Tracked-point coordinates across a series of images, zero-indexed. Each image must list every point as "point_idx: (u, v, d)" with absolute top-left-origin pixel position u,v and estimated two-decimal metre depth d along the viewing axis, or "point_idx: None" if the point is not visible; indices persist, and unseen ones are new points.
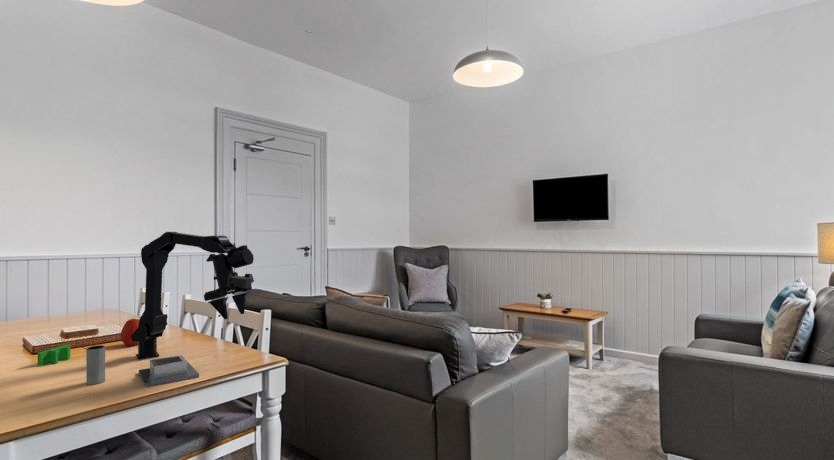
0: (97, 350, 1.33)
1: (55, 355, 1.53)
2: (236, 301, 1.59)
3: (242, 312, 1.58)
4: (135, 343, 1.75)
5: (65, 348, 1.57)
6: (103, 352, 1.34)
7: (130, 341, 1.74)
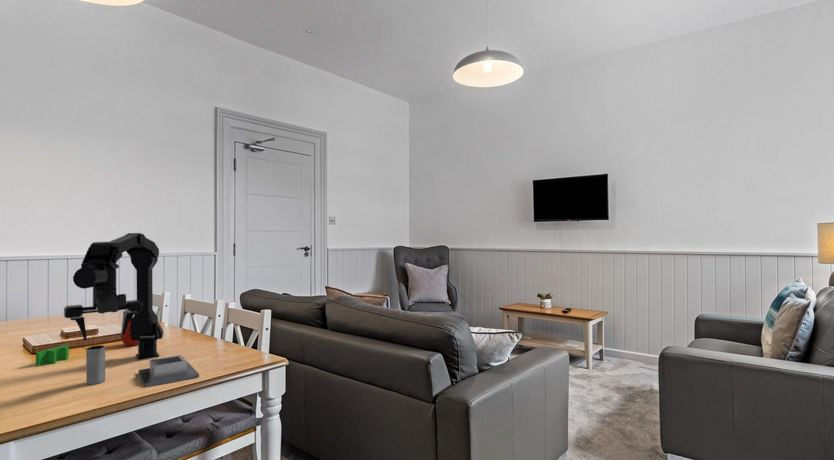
0: (97, 350, 1.33)
1: (53, 355, 1.53)
2: (123, 319, 1.38)
3: (122, 334, 1.37)
4: (135, 343, 1.75)
5: (63, 348, 1.57)
6: (103, 352, 1.34)
7: (130, 341, 1.74)
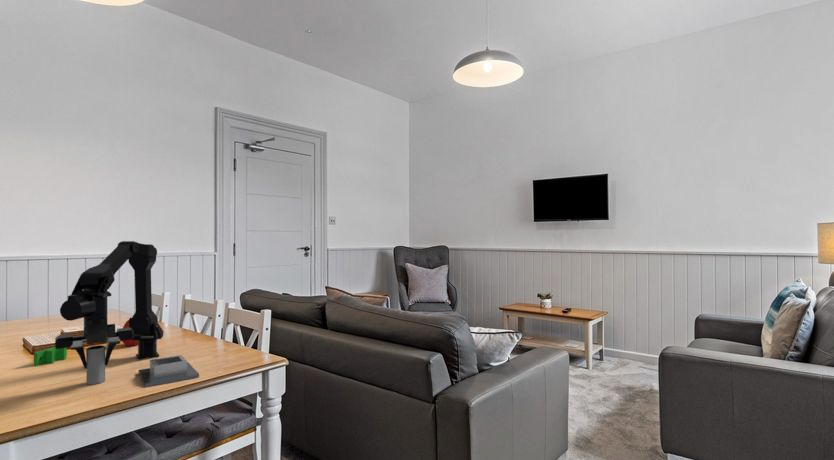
0: (97, 350, 1.33)
1: (51, 355, 1.53)
2: (107, 348, 1.37)
3: (105, 363, 1.35)
4: (135, 343, 1.75)
5: (61, 348, 1.57)
6: (103, 352, 1.34)
7: (130, 341, 1.74)
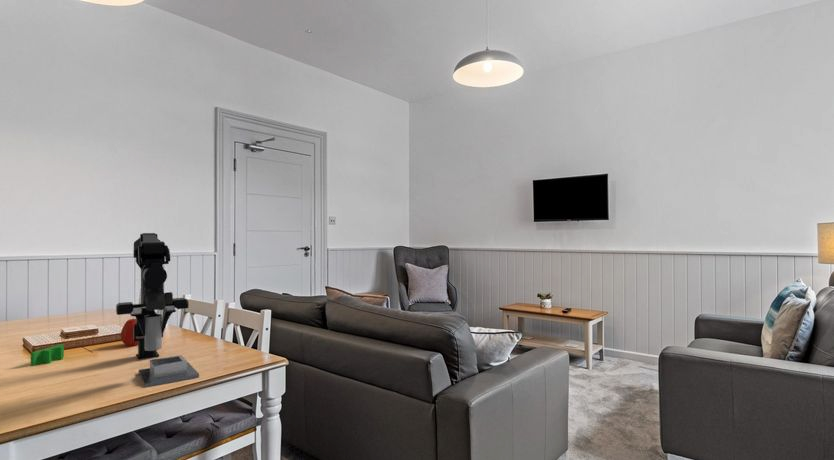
0: (155, 318, 1.37)
1: (48, 355, 1.53)
2: (163, 316, 1.42)
3: None
4: (135, 343, 1.75)
5: (58, 348, 1.57)
6: (160, 320, 1.39)
7: (130, 341, 1.74)
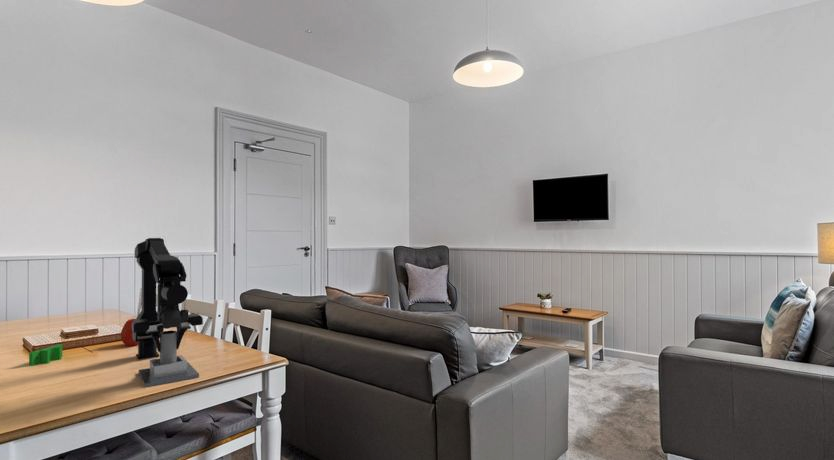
0: (171, 335, 1.39)
1: (46, 355, 1.53)
2: (177, 333, 1.43)
3: None
4: (135, 343, 1.75)
5: (57, 348, 1.58)
6: (175, 337, 1.40)
7: (130, 341, 1.74)
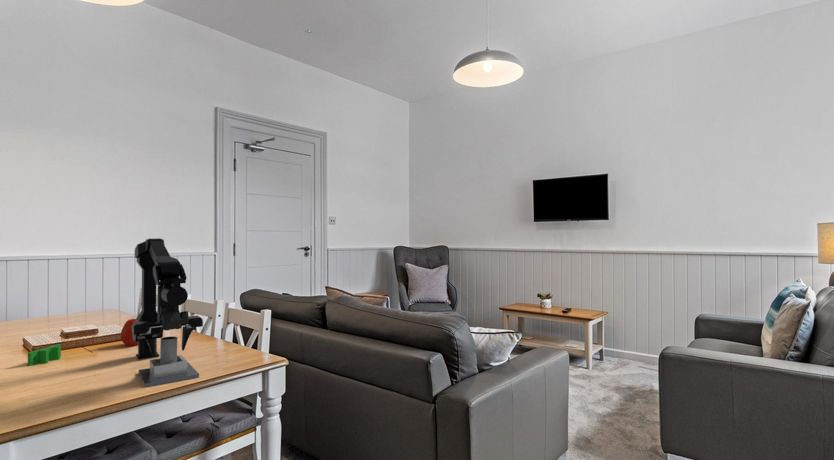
0: (171, 340, 1.39)
1: (45, 355, 1.53)
2: (183, 334, 1.44)
3: (182, 348, 1.43)
4: (135, 343, 1.75)
5: (55, 348, 1.58)
6: (176, 342, 1.41)
7: (130, 341, 1.74)
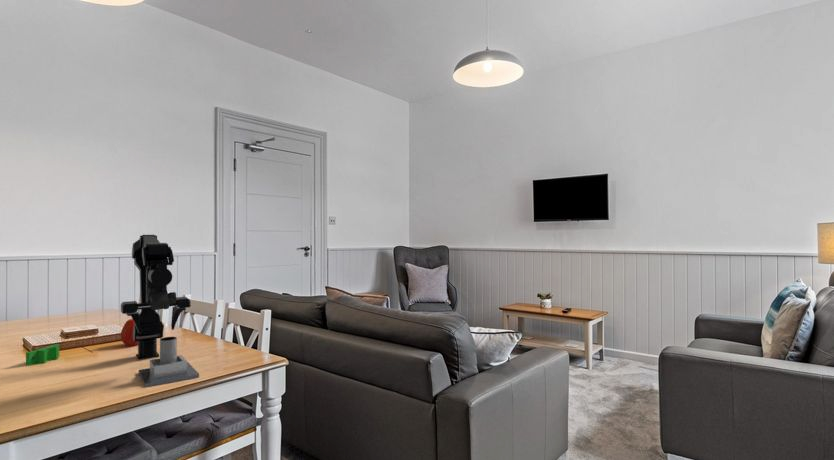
0: (171, 341, 1.39)
1: (43, 355, 1.53)
2: (173, 314, 1.49)
3: (172, 328, 1.47)
4: (135, 343, 1.75)
5: (54, 348, 1.58)
6: (175, 343, 1.40)
7: (130, 341, 1.74)
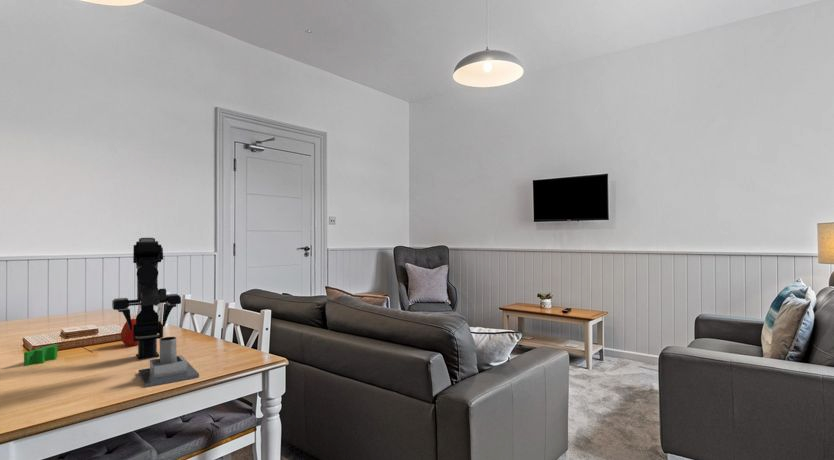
0: (171, 341, 1.39)
1: (41, 355, 1.53)
2: (164, 311, 1.52)
3: (163, 324, 1.50)
4: (135, 343, 1.75)
5: (52, 348, 1.58)
6: (175, 343, 1.41)
7: (130, 341, 1.74)
